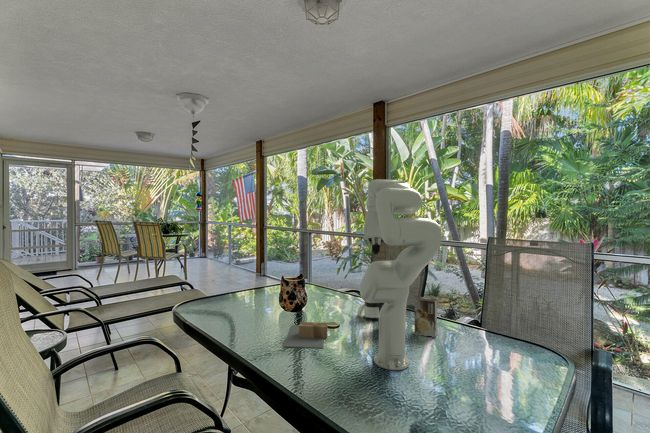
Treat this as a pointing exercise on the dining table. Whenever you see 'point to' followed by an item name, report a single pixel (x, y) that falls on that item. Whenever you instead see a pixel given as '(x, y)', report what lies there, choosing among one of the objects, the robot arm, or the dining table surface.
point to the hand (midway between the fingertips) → (375, 253)
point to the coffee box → (426, 316)
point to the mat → (302, 340)
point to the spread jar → (369, 310)
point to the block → (313, 330)
